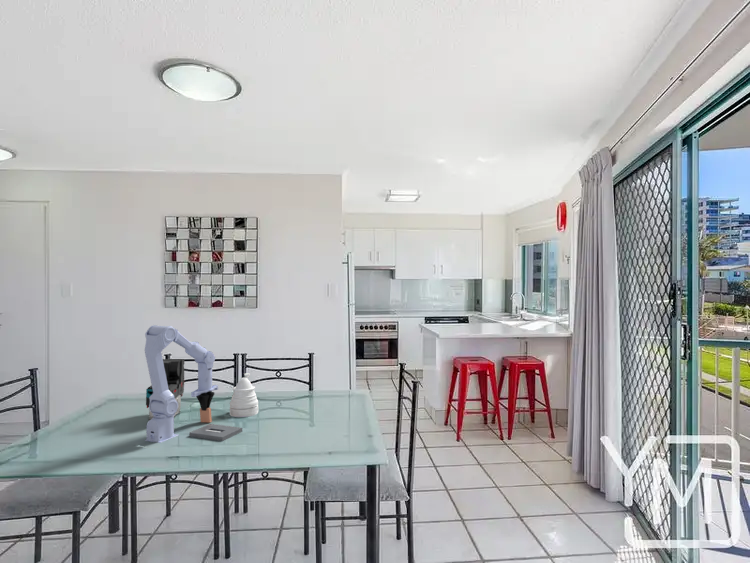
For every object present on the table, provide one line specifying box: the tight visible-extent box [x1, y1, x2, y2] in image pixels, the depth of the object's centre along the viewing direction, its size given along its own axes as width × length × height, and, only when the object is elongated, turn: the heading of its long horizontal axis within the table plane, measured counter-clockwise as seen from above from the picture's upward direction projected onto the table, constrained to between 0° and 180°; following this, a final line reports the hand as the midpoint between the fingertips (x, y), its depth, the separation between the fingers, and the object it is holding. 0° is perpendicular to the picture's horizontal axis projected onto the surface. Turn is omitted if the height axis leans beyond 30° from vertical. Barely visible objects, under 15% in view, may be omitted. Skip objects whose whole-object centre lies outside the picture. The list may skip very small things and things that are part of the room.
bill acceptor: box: [145, 358, 185, 421], centre depth 208 cm, size 10×23×25 cm, turn 8°
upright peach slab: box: [199, 407, 213, 424], centre depth 199 cm, size 1×5×6 cm, turn 69°
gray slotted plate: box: [188, 423, 243, 442], centre depth 184 cm, size 12×16×2 cm
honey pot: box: [229, 372, 259, 418], centre depth 215 cm, size 13×13×18 cm
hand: (205, 409), depth 199 cm, fingers closed on upright peach slab, 1 cm apart
